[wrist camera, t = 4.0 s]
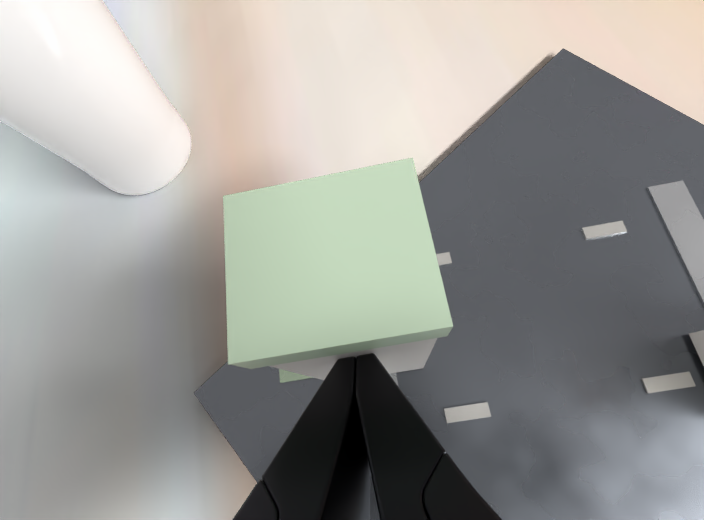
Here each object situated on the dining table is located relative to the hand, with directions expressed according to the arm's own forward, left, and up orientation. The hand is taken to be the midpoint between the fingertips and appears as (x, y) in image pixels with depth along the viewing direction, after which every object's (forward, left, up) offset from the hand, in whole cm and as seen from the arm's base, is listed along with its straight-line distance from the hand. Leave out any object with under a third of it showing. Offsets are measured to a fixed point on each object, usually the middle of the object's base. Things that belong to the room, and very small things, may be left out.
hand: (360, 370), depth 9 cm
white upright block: (+1, -1, -7) cm, 7 cm away
